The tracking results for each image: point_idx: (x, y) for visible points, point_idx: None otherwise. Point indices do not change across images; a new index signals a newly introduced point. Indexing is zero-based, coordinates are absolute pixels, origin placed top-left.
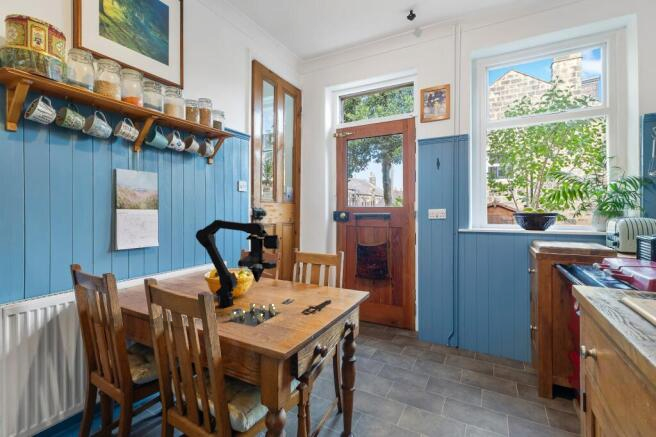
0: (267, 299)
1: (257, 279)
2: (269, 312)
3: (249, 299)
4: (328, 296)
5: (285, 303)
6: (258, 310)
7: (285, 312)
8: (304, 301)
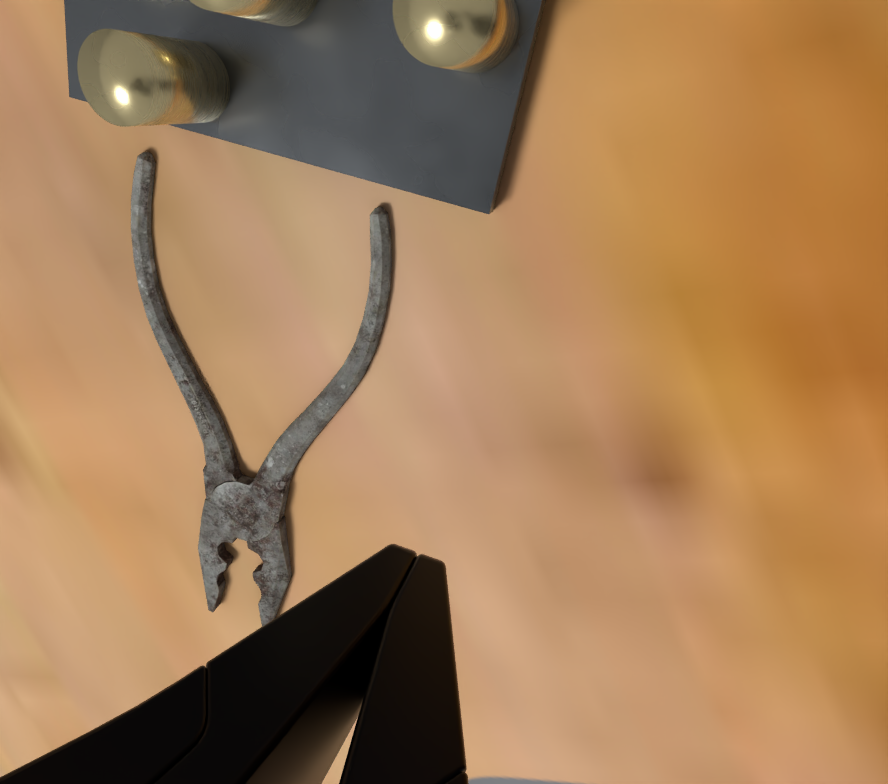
0: (521, 629)
1: (332, 590)
2: (198, 41)
3: (782, 632)
4: (13, 694)
5: (225, 471)
6: (405, 109)
7: (79, 176)
8: (110, 567)
